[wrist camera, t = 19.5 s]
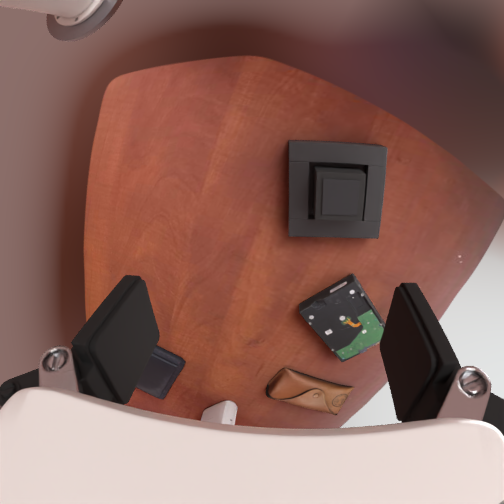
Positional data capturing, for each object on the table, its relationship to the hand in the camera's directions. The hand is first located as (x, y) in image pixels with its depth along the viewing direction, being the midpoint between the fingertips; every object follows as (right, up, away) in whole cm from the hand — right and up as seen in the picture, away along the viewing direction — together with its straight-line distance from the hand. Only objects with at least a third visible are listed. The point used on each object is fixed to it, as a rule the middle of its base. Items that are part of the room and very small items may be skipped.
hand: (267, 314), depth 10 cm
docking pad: (+11, +11, +27) cm, 31 cm away
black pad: (+10, +11, +27) cm, 30 cm away
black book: (-25, -24, +50) cm, 61 cm away
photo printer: (-8, -36, +54) cm, 65 cm away
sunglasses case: (+12, -26, +46) cm, 55 cm away
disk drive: (+16, -9, +37) cm, 41 cm away
